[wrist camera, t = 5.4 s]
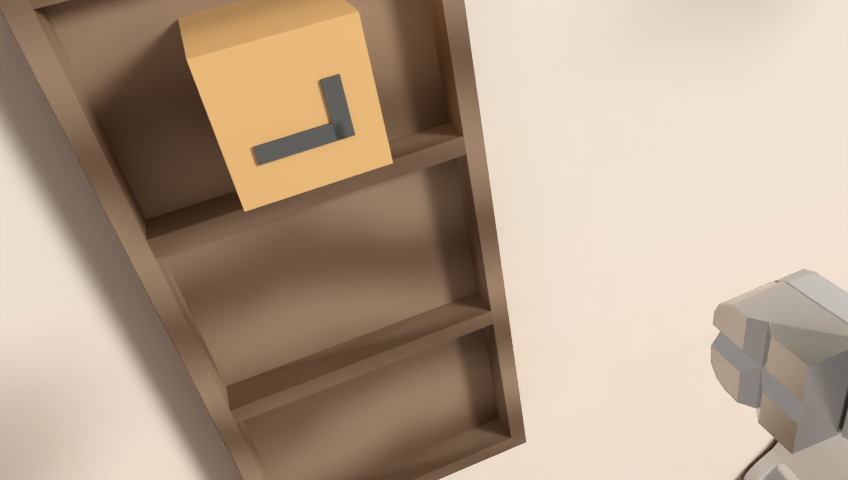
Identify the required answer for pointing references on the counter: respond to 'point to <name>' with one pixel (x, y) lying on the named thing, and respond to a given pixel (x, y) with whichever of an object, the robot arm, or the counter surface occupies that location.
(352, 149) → the letter cube
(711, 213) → the counter surface
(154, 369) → the counter surface
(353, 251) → the organiser
